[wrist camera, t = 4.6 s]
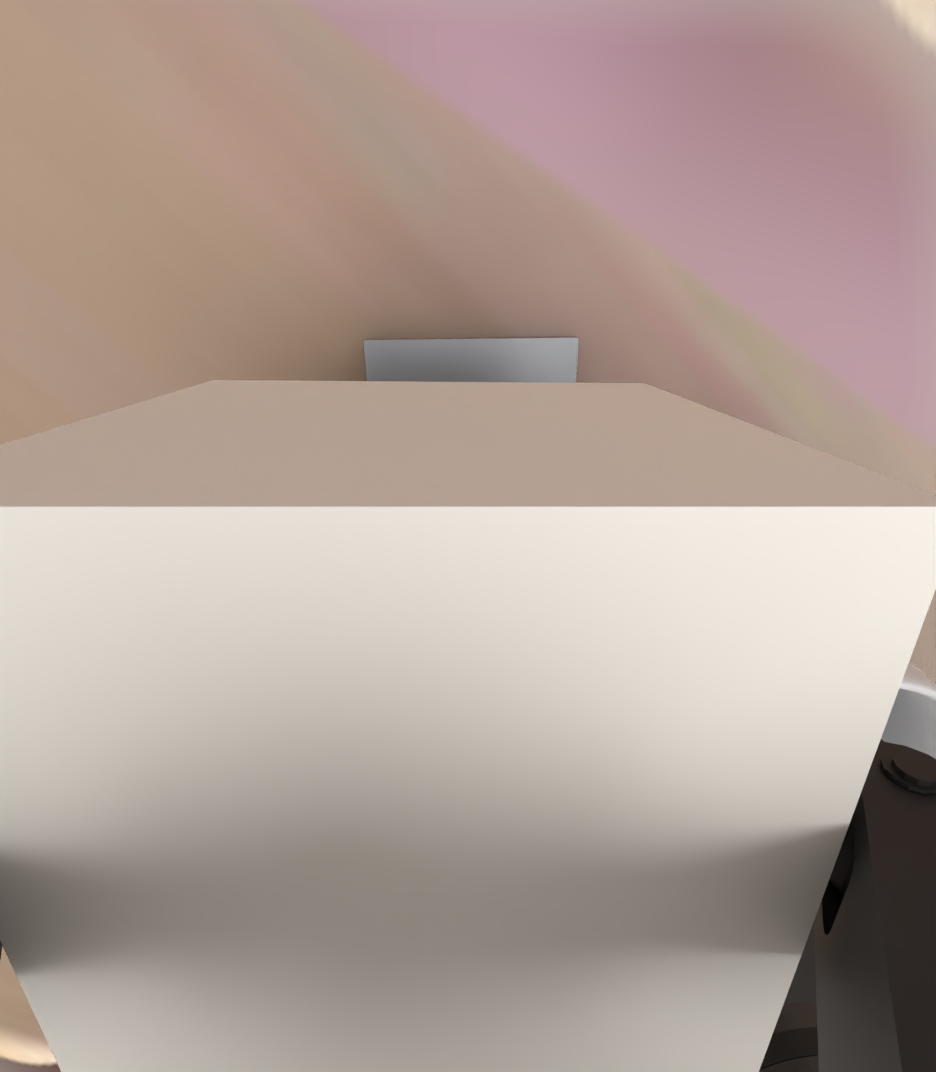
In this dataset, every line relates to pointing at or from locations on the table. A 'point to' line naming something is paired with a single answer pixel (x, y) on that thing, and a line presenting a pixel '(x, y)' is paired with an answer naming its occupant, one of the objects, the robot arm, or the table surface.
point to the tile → (472, 359)
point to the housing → (434, 723)
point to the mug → (914, 713)
